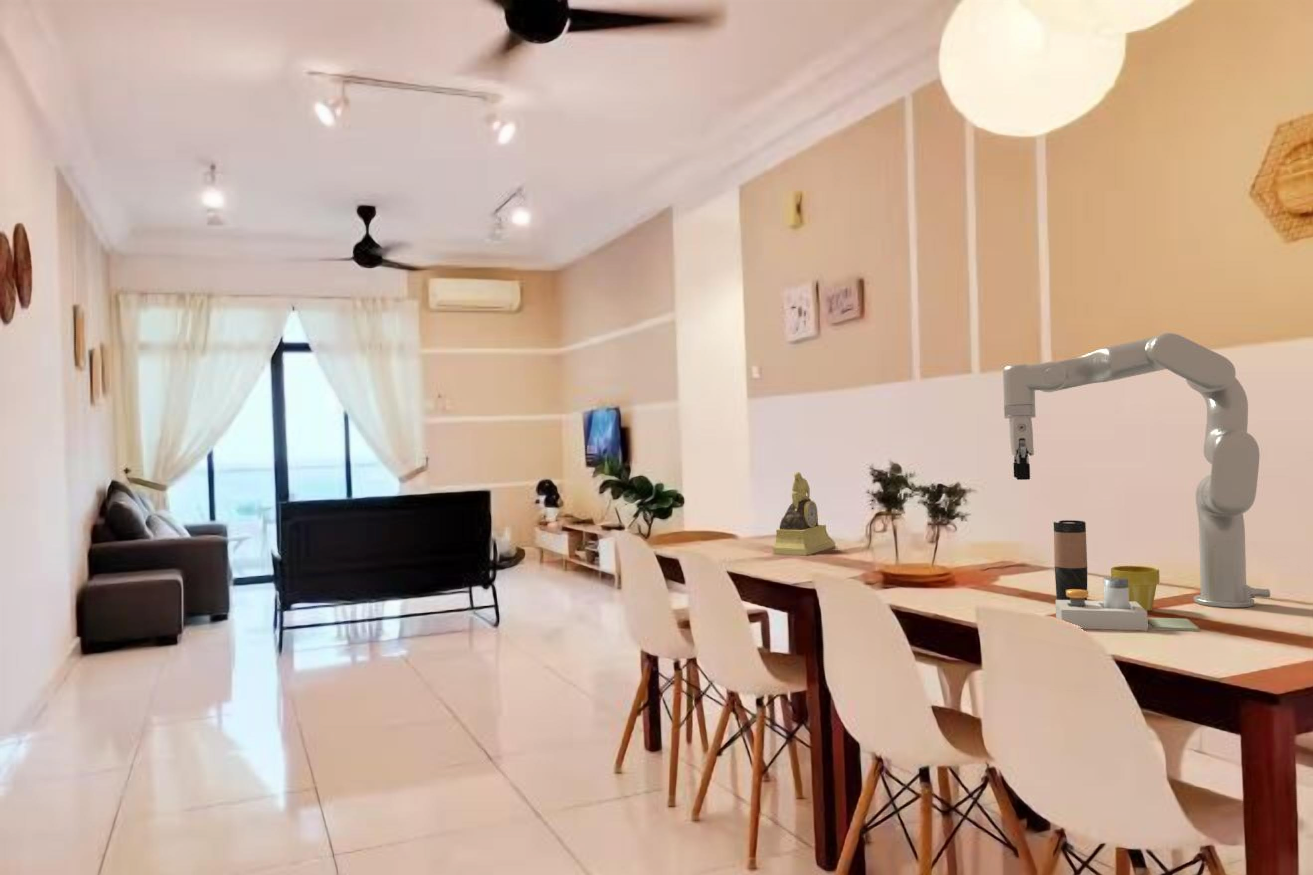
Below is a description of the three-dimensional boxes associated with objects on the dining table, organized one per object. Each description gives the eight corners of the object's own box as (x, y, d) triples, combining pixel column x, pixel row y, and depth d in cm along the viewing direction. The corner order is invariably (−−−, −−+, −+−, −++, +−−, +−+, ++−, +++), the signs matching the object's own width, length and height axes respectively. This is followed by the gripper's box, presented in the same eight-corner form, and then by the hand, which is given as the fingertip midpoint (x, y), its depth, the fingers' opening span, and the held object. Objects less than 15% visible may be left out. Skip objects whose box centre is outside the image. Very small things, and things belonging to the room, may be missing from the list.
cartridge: (1127, 621, 206) (1126, 577, 206) (1131, 626, 201) (1130, 581, 201) (1103, 621, 207) (1101, 577, 207) (1106, 625, 203) (1105, 580, 202)
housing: (1136, 619, 208) (1136, 601, 208) (1147, 630, 197) (1147, 611, 197) (1056, 616, 214) (1055, 599, 214) (1061, 627, 202) (1061, 609, 202)
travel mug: (1091, 602, 229) (1089, 523, 229) (1059, 602, 230) (1056, 523, 230) (1084, 597, 236) (1081, 519, 236) (1052, 597, 238) (1050, 520, 238)
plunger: (1087, 607, 208) (1086, 589, 208) (1090, 611, 204) (1089, 592, 204) (1065, 607, 209) (1064, 588, 209) (1067, 611, 205) (1067, 592, 205)
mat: (1187, 621, 204) (1187, 618, 204) (1198, 630, 195) (1198, 628, 195) (1147, 620, 207) (1147, 617, 207) (1157, 629, 197) (1156, 626, 197)
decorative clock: (805, 555, 331) (803, 473, 330) (773, 554, 338) (770, 473, 337) (835, 546, 354) (832, 469, 354) (804, 545, 361) (802, 469, 361)
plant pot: (1102, 607, 222) (1101, 567, 222) (1132, 603, 226) (1131, 563, 226) (1139, 614, 213) (1138, 573, 213) (1170, 610, 217) (1169, 569, 217)
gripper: (1038, 411, 227) (1040, 480, 227) (1032, 412, 243) (1034, 476, 243) (1006, 412, 229) (1008, 480, 229) (1002, 413, 246) (1004, 476, 246)
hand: (1021, 478), depth 236 cm, fingers open, 9 cm apart
